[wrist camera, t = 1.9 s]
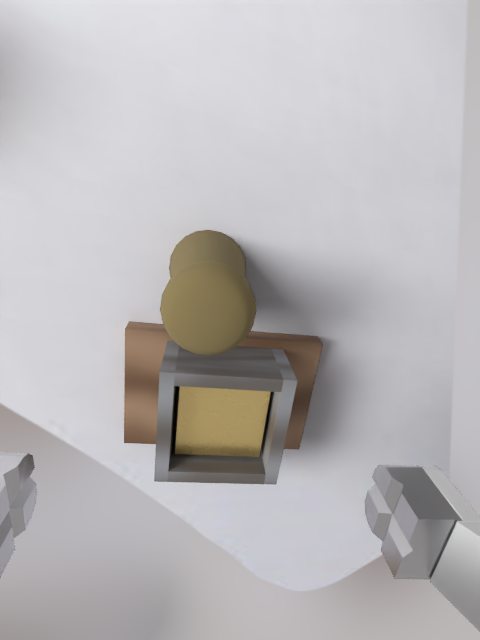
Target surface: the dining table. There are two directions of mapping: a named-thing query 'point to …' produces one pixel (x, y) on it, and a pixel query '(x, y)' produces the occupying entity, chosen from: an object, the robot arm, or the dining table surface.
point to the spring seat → (221, 421)
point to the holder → (224, 373)
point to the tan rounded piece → (208, 294)
